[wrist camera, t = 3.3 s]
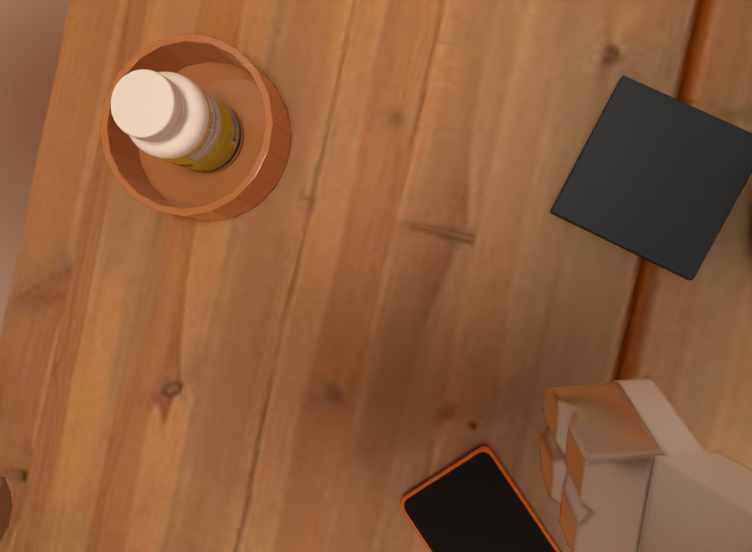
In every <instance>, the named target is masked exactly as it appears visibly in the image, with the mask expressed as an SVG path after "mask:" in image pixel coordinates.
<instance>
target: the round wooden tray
mask: <svg viewBox="0 0 752 552" xmlns="http://www.w3.org/2000/svg"><path fill="white" fill-rule="evenodd" d="M140 69H147V70H152V71H155V72H174V73H178V74H181V75H183V76H185V77H187V78H188V79H190V80H191V81H193V82H194V83H196V84H197V85H199V86H200V87H202V88H203V89H205V90H206V91H208V92H209V93H211V94H212V95H214V96H215V97H217V98H218V99H220V100H221V101H223V102H224V103H225V104H227V105H228V106H229V107H231V108H232V109H233V110H234V112H235V113H236V114H237V116H238V118H239V120H240V122H241V125H242V131H243V140H242V145H241V149H240V151H239V153H238V155H237V156H236V158H235V159H234V160H233V162H232V163H231V164H229V165H228V166H227V167H225V168H224V169H222V170H220V171H217V172H214V173H199V172H195V171H192V170H189V169H186V168H184V167H181V166H178V165H175V164H172V163H170V162H167V161H164V160H161V159H158V158H156V157H153V156H151V155H149V154H147V153H145V152H144V151H142V150H141V149H140V148H138V147H137V146H136V145H135V143H134V142H133V141H132V139H131V138H130V136H129V135H128V134H126V133H125V132H124V131H122V130H121V129H120V128H119V127H118V125H117V124H116V122H115V121H114V119H113V116H112V113H111V96H112V93H113V90H114V88H115V86H116V84H117V83H118V82H119V80H120V79H121V78H123V77H124V76H125V75H126V74H128V73H130V72H132V71H135V70H140ZM100 127H101V128H100V129H101V137H102V144H103V151H104V156H105V158H106V160H107V162H108V164H109V166H110V169H111V171H112V173H113V175H114V177H115V179H116V181H117V182H118V183H119V184H120V185H121V186H122V187H123V188H124V189H125V190H126V191H127V192H128V193H129V194H130V196H131V197H132V198H133V199H135V200H136V201H138V202H140V203H142V204H144V205H145V206H147V207H149V208H151V209H153V210H155V211H157V212H160V213H165V214H169V215H174V216H178V217H183V218H189V219H195V220H201V221H218V220H225V219H229V218H233V217H236V216H238V215H241V214H243V213H245V212H247V211H248V210H250V209H252V208H254V207H255V206H256V205H257V204H259V203H260V202H261V201H262V200H263V199H264V198H265V197H266V196H267V195H268V194H269V193H270V192H271V191H272V189H273V188H274V187H275V186H276V184H277V182H278V181H279V179H280V177H281V175H282V173H283V171H284V168H285V166H286V163H287V160H288V156H289V151H290V144H291V130H290V121H289V117H288V113H287V110H286V107H285V105H284V102H283V100H282V98H281V96H280V94H279V93H278V91H277V89H276V87H275V86H274V85H273V84H272V83H271V82H270V81H269V80H268V79H267V78H266V77H265V76H264V75H263V74H262V73H261V72H260V71H259V70H258V69H257V68H256V67H255V66H254V65H253V64H252V63H251V62H250V61H249V60H248V59H247V58H246V57H245V56H244V55H243V54H242V53H241V52H240V51H239V50H238V49H236V48H234V47H232V46H230V45H228V44H226V43H224V42H222V41H220V40H218V39H216V38H214V37H209V36H200V35H192V34H183V35H178V36H173V37H169V38H164V39H160V40H158V41H156V42H154V43H152V44H151V45H149V46H147V47H146V48H144V49H142V50H141V51H139V52H137V53H136V54H134V56H133V57H132V58H131V59H130V60H129V61H128V62H127V63H126V64H125V66H124V67H123V68H122V69H121V70H120V71H119V72H118V73H117V75H116V77H115V79H114V81H113V83H112V85H111V87H110V89H109V91H108V94H107V96H106V98H105V100H104V106H103V113H102V119H101V125H100Z"/></svg>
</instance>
